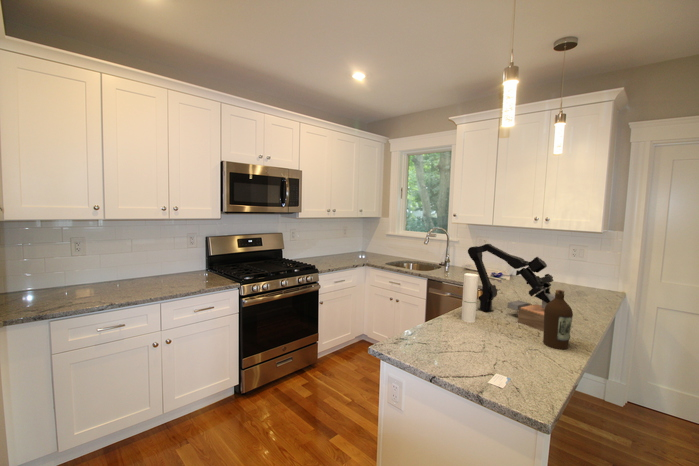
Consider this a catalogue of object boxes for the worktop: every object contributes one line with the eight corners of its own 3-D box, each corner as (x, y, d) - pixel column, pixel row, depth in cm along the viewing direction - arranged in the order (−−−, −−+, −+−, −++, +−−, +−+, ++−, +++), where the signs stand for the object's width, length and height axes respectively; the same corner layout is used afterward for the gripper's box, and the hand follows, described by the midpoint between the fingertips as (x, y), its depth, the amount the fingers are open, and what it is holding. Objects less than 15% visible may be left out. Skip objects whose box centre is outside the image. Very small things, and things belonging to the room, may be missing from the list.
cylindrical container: (475, 319, 173) (478, 274, 171) (474, 323, 167) (478, 276, 165) (461, 317, 176) (464, 272, 174) (460, 321, 170) (463, 275, 168)
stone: (552, 310, 162) (553, 296, 161) (541, 307, 166) (542, 294, 165) (555, 308, 165) (556, 295, 165) (544, 305, 169) (545, 292, 169)
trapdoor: (547, 321, 159) (547, 315, 159) (505, 307, 179) (505, 302, 179) (562, 317, 166) (563, 311, 166) (520, 304, 186) (521, 299, 186)
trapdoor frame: (544, 331, 159) (545, 316, 158) (517, 322, 171) (518, 308, 170) (563, 326, 167) (564, 312, 167) (537, 317, 180) (538, 304, 179)
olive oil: (536, 341, 147) (540, 287, 145) (555, 339, 149) (559, 287, 147) (555, 351, 136) (560, 294, 134) (575, 349, 139) (580, 293, 137)
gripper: (537, 271, 160) (560, 297, 153) (548, 267, 173) (570, 291, 166) (519, 283, 167) (541, 309, 160) (531, 278, 180) (552, 302, 172)
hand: (552, 302), depth 164 cm, fingers closed on stone, 5 cm apart
